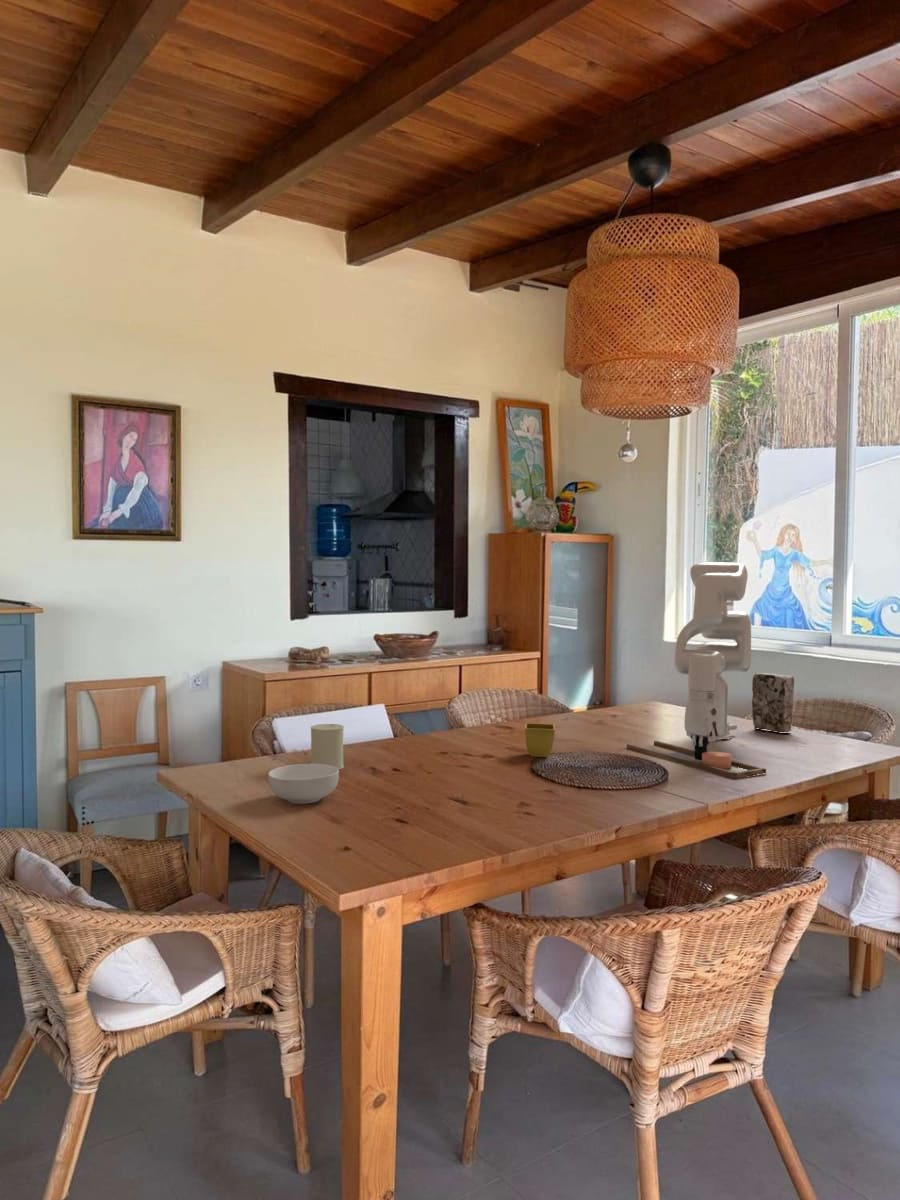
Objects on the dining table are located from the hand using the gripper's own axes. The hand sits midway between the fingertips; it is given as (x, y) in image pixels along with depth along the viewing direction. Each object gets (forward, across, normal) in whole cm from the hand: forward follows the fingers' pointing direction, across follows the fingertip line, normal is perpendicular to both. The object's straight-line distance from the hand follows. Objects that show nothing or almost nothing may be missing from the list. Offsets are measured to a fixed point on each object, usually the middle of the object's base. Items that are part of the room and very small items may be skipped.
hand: (700, 759), depth 256 cm
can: (+2, +43, +98) cm, 107 cm away
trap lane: (+1, +4, 0) cm, 4 cm away
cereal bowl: (+2, +14, +115) cm, 116 cm away
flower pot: (+2, +29, +36) cm, 47 cm away
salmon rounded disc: (+1, -6, 0) cm, 6 cm away
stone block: (+1, +26, -58) cm, 63 cm away
